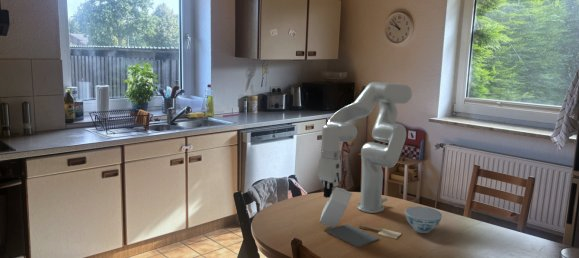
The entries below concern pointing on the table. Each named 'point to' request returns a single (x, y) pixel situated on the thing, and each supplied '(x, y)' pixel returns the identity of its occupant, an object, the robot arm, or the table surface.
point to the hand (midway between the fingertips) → (327, 196)
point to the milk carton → (335, 207)
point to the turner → (382, 232)
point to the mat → (352, 235)
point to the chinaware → (423, 218)
